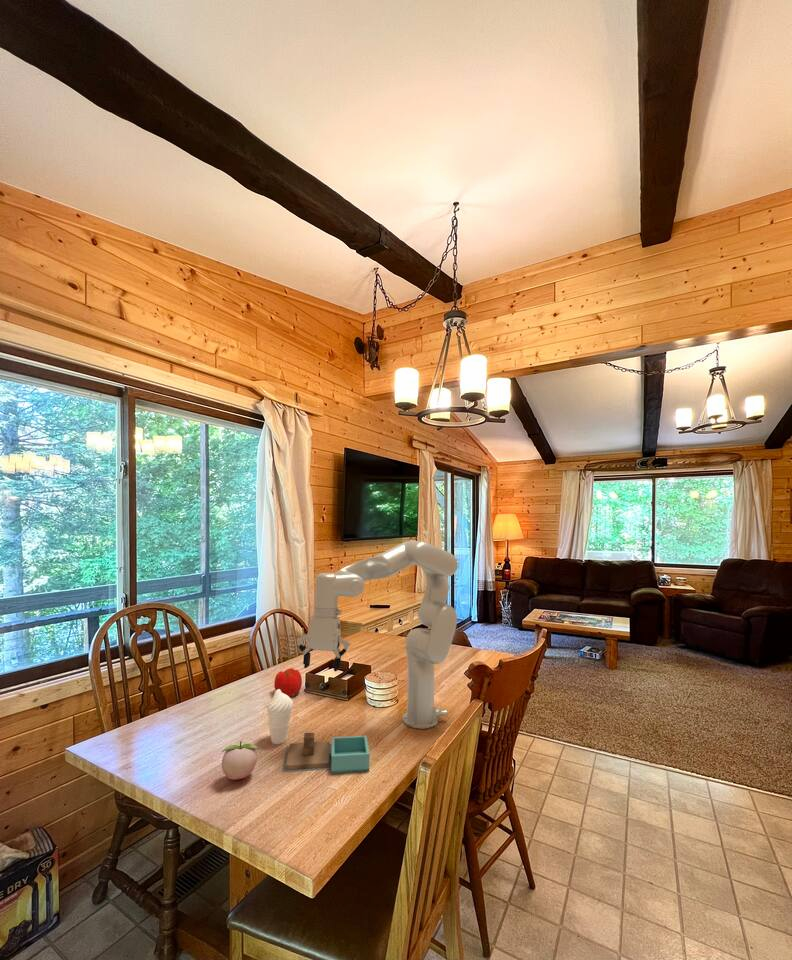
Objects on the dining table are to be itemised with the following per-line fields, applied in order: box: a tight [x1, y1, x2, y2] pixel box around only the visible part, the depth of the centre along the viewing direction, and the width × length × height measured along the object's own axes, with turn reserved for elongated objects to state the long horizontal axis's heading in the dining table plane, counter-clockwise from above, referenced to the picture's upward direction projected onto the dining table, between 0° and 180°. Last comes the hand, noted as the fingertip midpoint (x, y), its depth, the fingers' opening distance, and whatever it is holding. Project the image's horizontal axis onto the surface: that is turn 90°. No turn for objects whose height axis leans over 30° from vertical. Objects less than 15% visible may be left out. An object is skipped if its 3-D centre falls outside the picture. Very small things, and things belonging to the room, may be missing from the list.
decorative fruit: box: [221, 741, 259, 781], centre depth 118 cm, size 9×8×10 cm
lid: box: [286, 732, 330, 770], centre depth 129 cm, size 12×12×6 cm
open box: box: [330, 735, 370, 775], centre depth 127 cm, size 11×11×5 cm
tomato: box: [273, 667, 303, 697], centre depth 176 cm, size 11×12×9 cm
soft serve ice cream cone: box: [266, 689, 294, 745], centre depth 139 cm, size 8×8×16 cm
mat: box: [281, 743, 332, 773], centre depth 129 cm, size 14×14×1 cm
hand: (321, 668), depth 137 cm, fingers open, 9 cm apart
